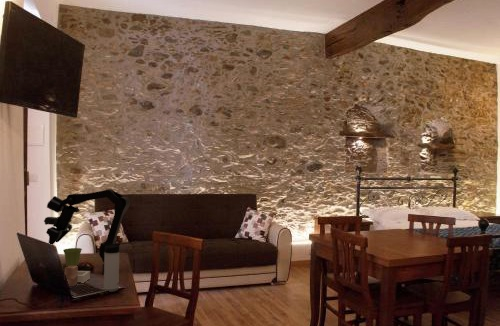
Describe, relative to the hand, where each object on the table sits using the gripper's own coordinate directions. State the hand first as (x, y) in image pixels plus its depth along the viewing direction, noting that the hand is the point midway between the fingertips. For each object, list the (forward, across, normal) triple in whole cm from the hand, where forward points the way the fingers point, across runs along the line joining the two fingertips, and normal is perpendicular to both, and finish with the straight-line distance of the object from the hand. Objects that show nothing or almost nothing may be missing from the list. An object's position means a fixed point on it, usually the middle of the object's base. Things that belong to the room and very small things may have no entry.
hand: (53, 244), depth 211 cm
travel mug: (-4, +31, +39) cm, 50 cm away
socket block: (+4, +19, +23) cm, 30 cm away
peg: (+4, +27, +22) cm, 35 cm away
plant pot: (+11, -12, +11) cm, 19 cm away
